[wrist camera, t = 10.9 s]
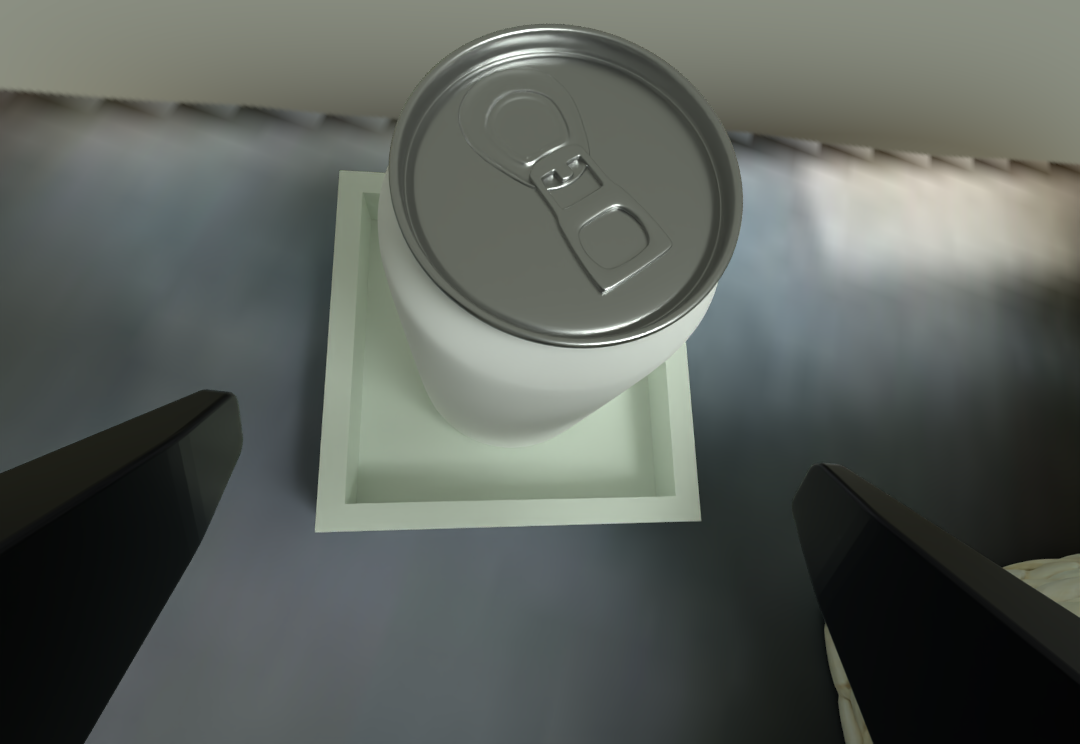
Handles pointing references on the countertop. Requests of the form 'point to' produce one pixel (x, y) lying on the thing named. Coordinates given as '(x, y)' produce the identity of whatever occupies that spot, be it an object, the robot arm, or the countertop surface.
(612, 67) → the can
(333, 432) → the tray
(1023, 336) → the countertop surface
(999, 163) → the countertop surface
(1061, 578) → the storage basket
